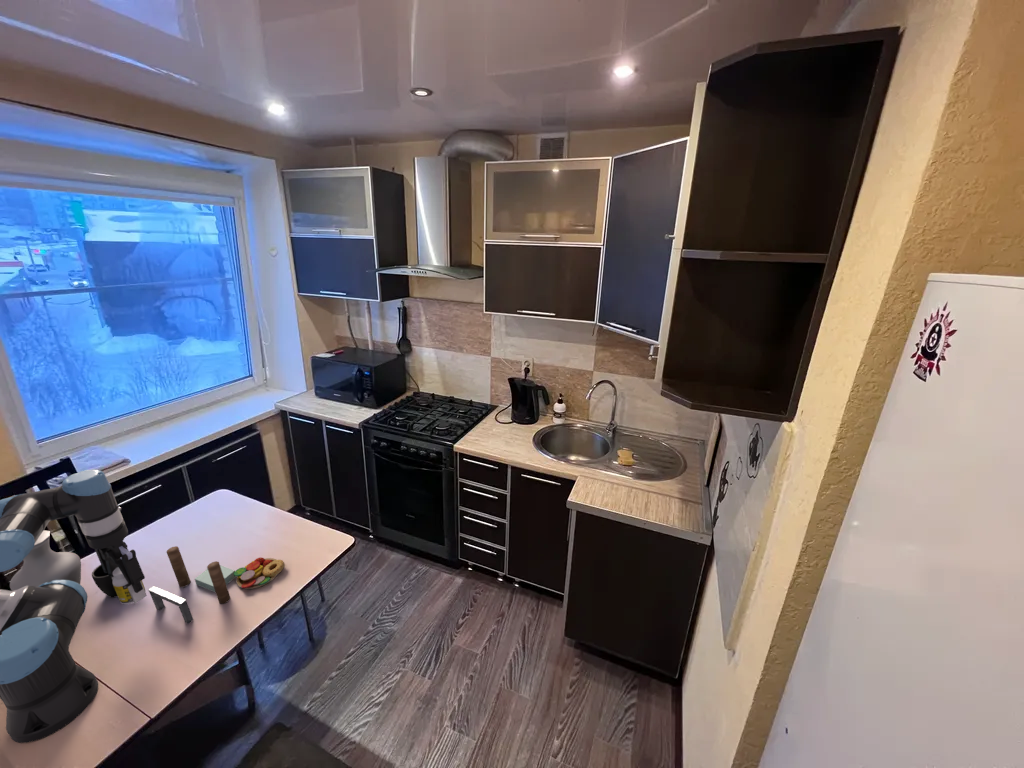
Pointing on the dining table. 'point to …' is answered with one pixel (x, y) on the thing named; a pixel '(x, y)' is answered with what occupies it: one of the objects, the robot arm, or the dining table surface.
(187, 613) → the rail hurdle
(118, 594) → the supplement bottle
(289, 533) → the dining table surface
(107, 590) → the mug
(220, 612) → the dining table surface
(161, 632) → the dining table surface
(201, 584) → the stand
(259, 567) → the toy food set
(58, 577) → the vase
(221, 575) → the post near
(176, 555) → the post far
